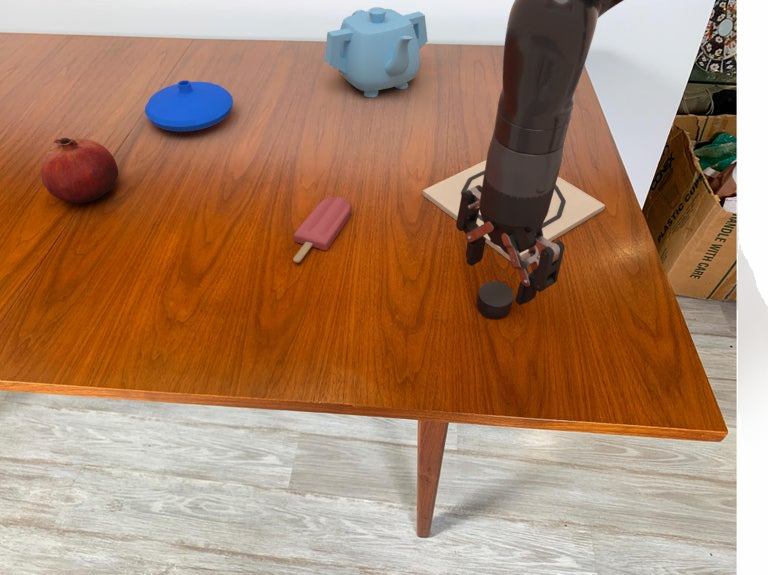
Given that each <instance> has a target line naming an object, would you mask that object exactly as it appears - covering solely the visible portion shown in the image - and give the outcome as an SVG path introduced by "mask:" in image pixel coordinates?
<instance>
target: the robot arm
mask: <svg viewBox="0 0 768 575" xmlns="http://www.w3.org/2000/svg"><path fill="white" fill-rule="evenodd" d="M624 1H625V0H514V1H513V4H512V5H511V9H510V12H509V16H508V19H507V25H506V26H507V27H506V31H505V36H504V37H505V38H504V46H503V56H502V57H503V58H502V87H501V91H500V94H499V98H498V102H497V110H496V116H495V121H494V127H493V132H492V136H491V140H490V142H489V145H488V149H487V154H486V159H485V160H486V166H485V172H484V178H483V184H482V187H481V186H480V185H477V186H475V187H473V188H471V189H469V190H467V191H465V192H463V193H462V196H461V201H460V207H459V212H458V217H457V221H456V222H455V226H456V229H457V231H459V232H464V234H465V236H464V237H465V240H466V242H467V243H466V249H465V258H466V264H467V265H469V266H470V267H473V266H475V265H477V264H478V263H480V262H481V261H482V260H483V258H484V252H485V246H486V238H485V237H483V236H484V235H486V234H488V236H489V238H490V241H491V242H492V243H493V244H495V245H497V246H499V247H500V248H501V249H502V250H503V251H504V252H505V253H507V254H508V255H509V256H510V259H511V261H510V262H511V265H512V268H513V269H516V270H517V272H518V275H519V278H520V281H519V284H518V287H517V292H516V296H515V301H514V302H515V303H516V304H517V305H519V306H522V305H526V304H528V303H529V302H531V301H532V300H534V299H535V298H536V296H537V292H538V293H541V292H543V291H545V290H546V289H548V288H549V287H551V286H552V285H554V284H556V282H557V281H558V277H559V273H560V270H561V265H562V261H563V256H564V253H565V248H566V245H565V244H564V242H563V241H562V240H556V241H555V242H553V241H549V240H547V239H546V238H544V237H543V232H542V224H543V222H544V220H545V218H546V216H547V214H548V211H549V207H550V203H551V200H552V196H553V192H554V189H555V185H556V181H557V178H558V177H559V174H560V171H561V166H562V162H563V156H564V155H563V154H564V146H565V141H566V138H567V135H568V130H569V126H570V124H571V119H572V114H573V110H574V105H575V98H576V96H575V95H576V94H575V93H576V91H577V88H578V85H579V83H580V79H581V77H582V75H583V70H584V67H585V65H586V61H587V59H588V55H589V52H590V49H591V46H592V42H593V39H594V36H595V32H596V28H597V23H598V20H599V18H600V17H601V16H603V15H604V14H605V13H607V12H608V11H609V10H611V9H613V8H614V7H616V6H617V5H619V4H621V3H622V2H624ZM479 210H480V213H481V216H482V219H483V222H484V224H483V225H481V226H478V224H477V219H478V214H479ZM526 250H529V252H528V254H527V255H526V256H524V257H523V258H521V256H520V253H521V252H523V251H526ZM529 266H530V269H531V271H529Z"/></svg>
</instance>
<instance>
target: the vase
mask: <svg viewBox="0 0 768 575" xmlns="http://www.w3.org/2000/svg"><path fill="white" fill-rule="evenodd" d="M233 104H234V100H233V96H232V94H231V93H230V92H229V91H228V90H227V89H225V87H223V86H221V85H219V84H216V83H213V82H207V81H190V80H186V79H183V80H180V81H178V82H177V83H176V84H172V85H168V86H166V87H164V88H161V89H160V90H158V91H156V92H155V93H153V94H152V95H151V96H150V97H149V99H148V101H147V102H146V104H145V107H144V114H145V115H146V118H148V120H149V121H150V122H151V124H152V125H154V126H155V127H156V128H160V129H162V130H165V131H171V132H194V131H199V130H203V129H207V128H209V127H212V126H214V125H216V124H219V123H221V122H222V121H223V120H225V119H226V118H227V117H228V116H229V115H230V113H231V111H232V109H233Z"/></svg>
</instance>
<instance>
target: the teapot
mask: <svg viewBox="0 0 768 575" xmlns="http://www.w3.org/2000/svg"><path fill="white" fill-rule="evenodd" d="M428 42H429V41H428V32H427V22H426V15H425V14H423V13H422V12H421V11H416V12H411V13H407V14H404V15H402V14H401V13H400V12H398V11H396V10H394V9H392V8H384V7H379V6H376V7H371V8H369V9H368V11H367V10H366V11H365V10H362V9H357V10H356V11H354V12H353V13H352V14H351V15H349V16H347V17H344V18H343V19H342V23H341V26H340V28H339V29H337V30H335V29H334V30H330V31H327V32H326V44H325V54H324V55H325V56H324V62H325V63H326V64H327V65H328V66H329V67H332V68H334V69H336V70H338V71H339V73H340V74H341V76H342V77H343V78H344V79H345V80H346V82H348V83H349V84H350V85H352V86H353V87H354V88H356V89H358V90H360V91H362V92H363V96H364V97H367V98H377V97H378V96H379V91H381V90H385V89H390V88H394V87H395V88H396V89H398V90H405V89H407V88H408V87H409V84H408V82H410V81H412V80H413V79H415V78H416V76H417V75H418V73H419V70H420V68H421V54H420V50H421V48H423V47H424V46H425V45H426V44H427V43H428Z"/></svg>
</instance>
